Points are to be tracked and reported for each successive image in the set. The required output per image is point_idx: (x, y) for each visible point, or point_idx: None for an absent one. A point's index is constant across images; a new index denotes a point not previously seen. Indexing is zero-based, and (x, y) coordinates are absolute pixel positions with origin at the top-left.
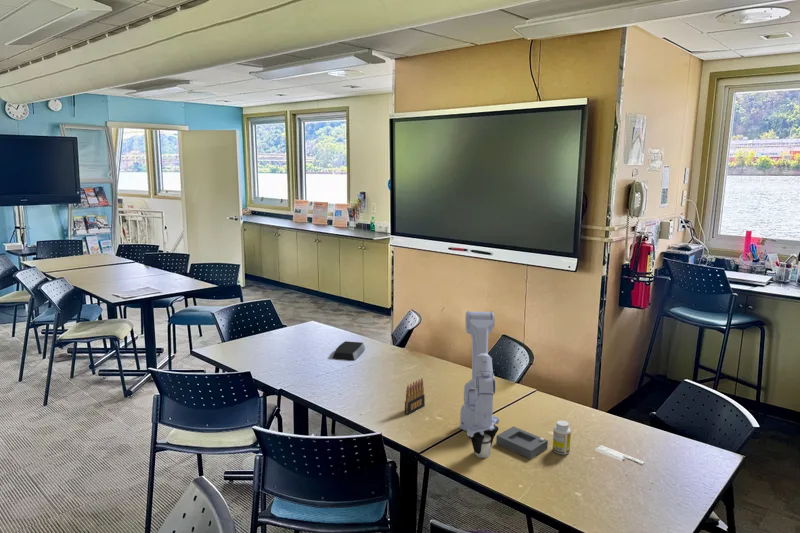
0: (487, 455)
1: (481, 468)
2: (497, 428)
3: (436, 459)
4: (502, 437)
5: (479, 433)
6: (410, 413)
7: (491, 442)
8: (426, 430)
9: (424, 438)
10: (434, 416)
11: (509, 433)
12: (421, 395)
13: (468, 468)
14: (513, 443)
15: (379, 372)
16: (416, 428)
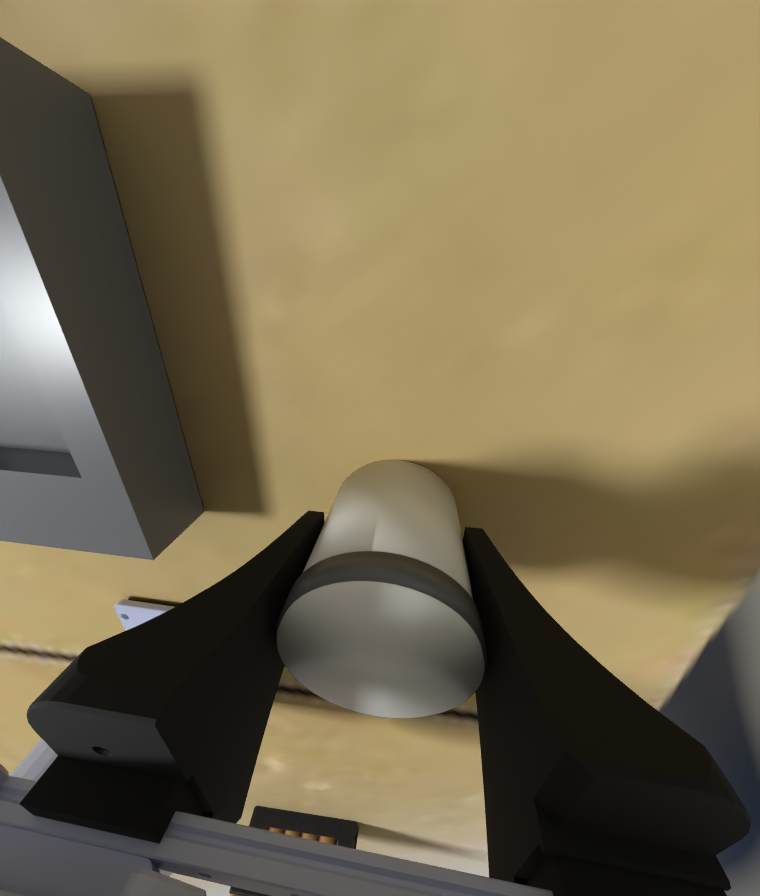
0: (411, 471)
1: (624, 403)
2: (70, 710)
3: (662, 670)
4: (125, 511)
5: (561, 860)
6: (341, 822)
7: (295, 539)
8: (403, 768)
9: (474, 757)
10: (282, 775)
11: (22, 501)
12: (246, 893)
13: (685, 484)
14: (86, 374)
15: (230, 886)
16: (419, 790)
